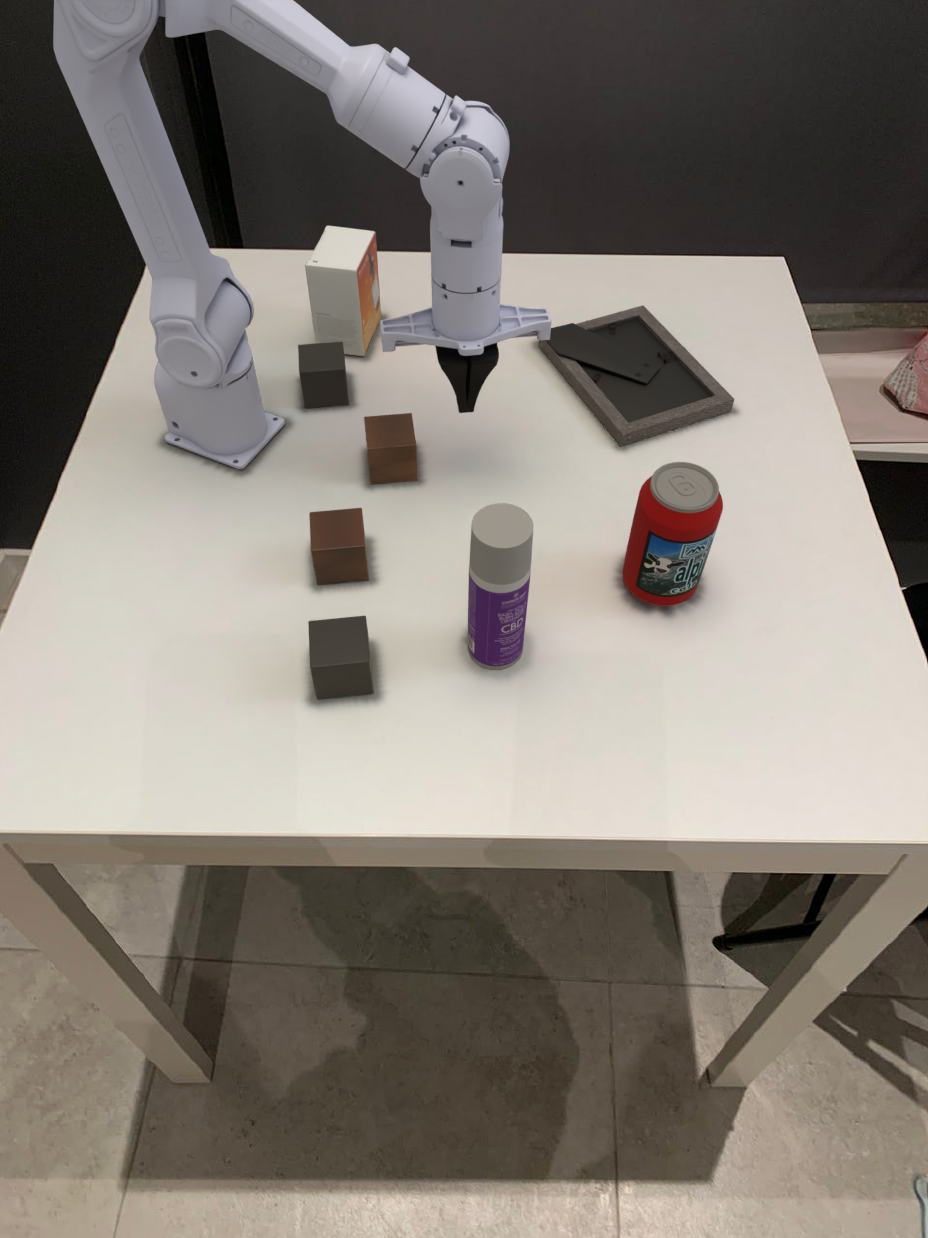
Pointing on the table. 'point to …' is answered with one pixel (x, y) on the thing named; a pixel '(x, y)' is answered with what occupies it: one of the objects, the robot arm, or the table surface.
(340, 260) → the small box
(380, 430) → the walnut block
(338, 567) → the walnut block
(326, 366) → the charcoal end block
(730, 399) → the picture frame
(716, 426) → the table surface
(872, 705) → the table surface
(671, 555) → the beverage can
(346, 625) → the charcoal front block
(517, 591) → the container
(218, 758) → the table surface
